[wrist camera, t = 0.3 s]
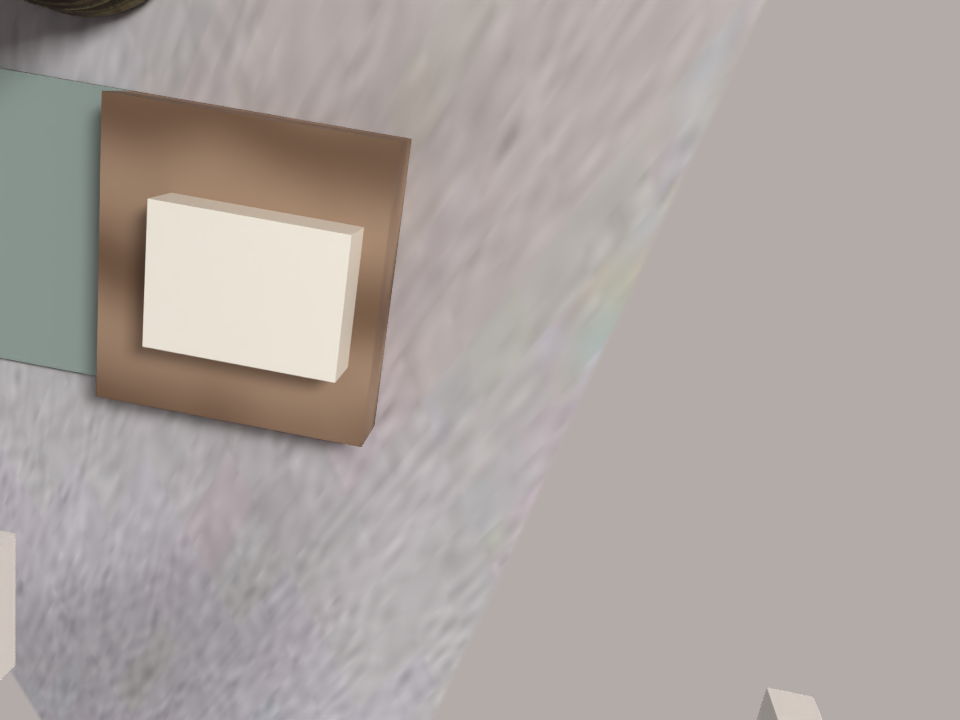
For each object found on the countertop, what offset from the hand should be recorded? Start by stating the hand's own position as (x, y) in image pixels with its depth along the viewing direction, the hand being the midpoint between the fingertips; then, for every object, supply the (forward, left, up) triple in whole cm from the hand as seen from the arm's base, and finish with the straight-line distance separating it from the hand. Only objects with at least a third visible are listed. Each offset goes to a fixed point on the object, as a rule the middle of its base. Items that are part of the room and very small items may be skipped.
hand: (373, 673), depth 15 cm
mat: (-1, -22, -24) cm, 32 cm away
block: (-1, -10, -21) cm, 23 cm away
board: (-1, -11, -24) cm, 26 cm away
